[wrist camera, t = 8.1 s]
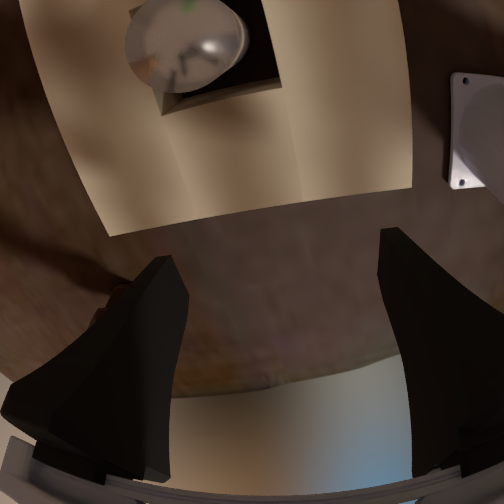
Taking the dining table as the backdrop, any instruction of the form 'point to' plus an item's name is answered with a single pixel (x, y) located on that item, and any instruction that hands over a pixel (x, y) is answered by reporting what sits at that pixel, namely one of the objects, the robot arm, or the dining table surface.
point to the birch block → (229, 113)
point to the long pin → (184, 43)
